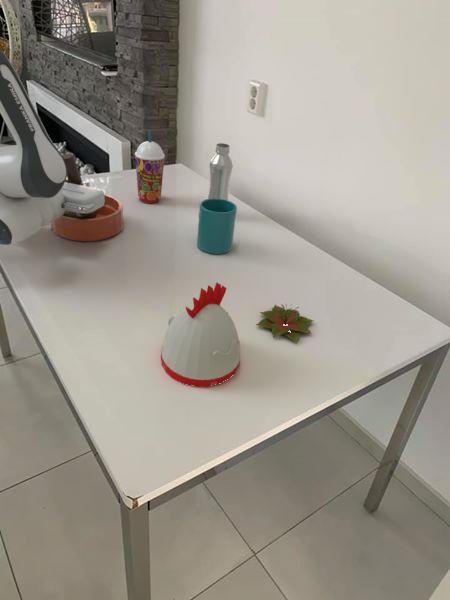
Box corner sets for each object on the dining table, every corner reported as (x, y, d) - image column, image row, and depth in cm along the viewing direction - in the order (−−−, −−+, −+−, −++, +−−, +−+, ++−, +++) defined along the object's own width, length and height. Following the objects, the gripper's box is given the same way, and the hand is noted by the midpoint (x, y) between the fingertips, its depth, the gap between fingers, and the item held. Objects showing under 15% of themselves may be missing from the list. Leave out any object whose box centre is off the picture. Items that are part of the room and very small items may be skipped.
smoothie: (139, 206, 131) (139, 136, 120) (132, 195, 137) (131, 127, 126) (167, 204, 134) (169, 135, 123) (158, 194, 140) (160, 127, 129)
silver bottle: (225, 210, 135) (232, 142, 124) (229, 219, 130) (237, 149, 119) (204, 209, 134) (209, 141, 123) (207, 219, 129) (213, 148, 117)
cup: (212, 231, 122) (216, 191, 116) (239, 250, 115) (244, 209, 108) (184, 237, 118) (186, 196, 111) (209, 258, 110) (213, 215, 104)
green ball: (63, 223, 118) (57, 210, 115) (69, 215, 120) (63, 202, 118) (78, 222, 117) (72, 209, 114) (83, 214, 120) (77, 201, 117)
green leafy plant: (271, 301, 97) (274, 283, 95) (323, 322, 93) (328, 304, 90) (244, 328, 88) (247, 309, 86) (300, 353, 84) (305, 334, 81)
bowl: (43, 240, 109) (40, 217, 106) (61, 210, 124) (59, 189, 120) (117, 245, 111) (116, 222, 107) (126, 215, 125) (126, 194, 122)
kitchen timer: (255, 362, 80) (268, 293, 72) (198, 400, 72) (205, 325, 63) (202, 324, 88) (208, 257, 79) (144, 354, 79) (144, 282, 71)
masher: (74, 221, 113) (52, 161, 103) (82, 211, 117) (61, 152, 107) (93, 221, 113) (72, 160, 102) (100, 211, 116) (81, 151, 106)
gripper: (85, 197, 95) (116, 178, 106) (1, 179, 98) (39, 162, 110) (87, 225, 98) (117, 203, 109) (6, 206, 102) (43, 187, 113)
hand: (78, 182), depth 110 cm, fingers closed on masher, 3 cm apart
